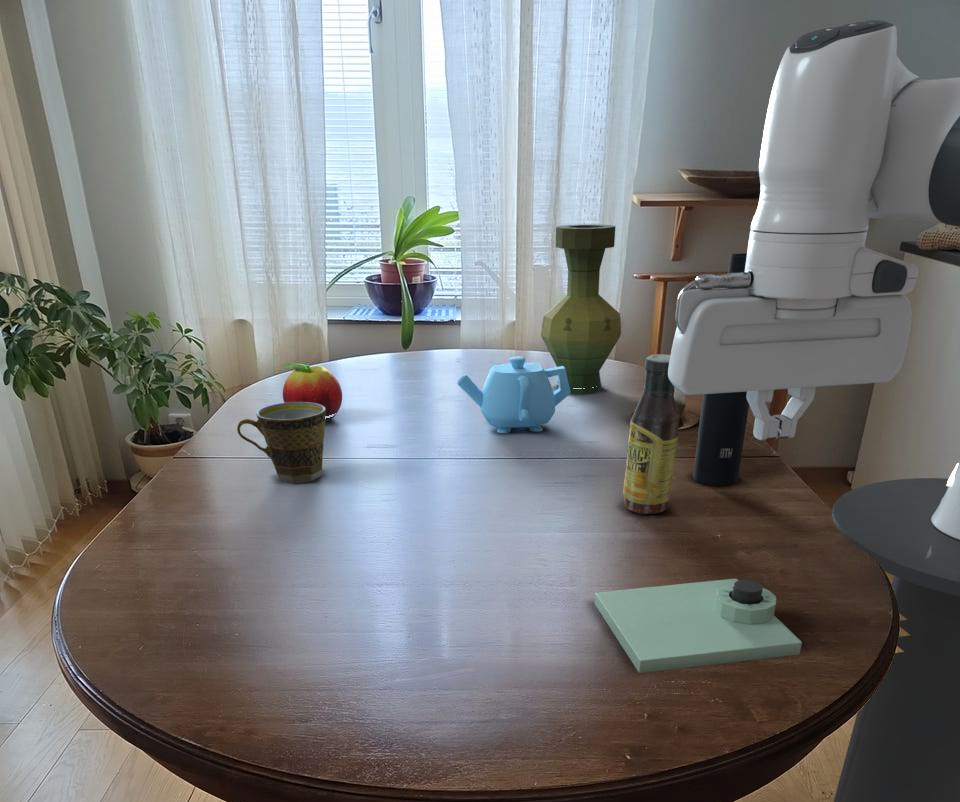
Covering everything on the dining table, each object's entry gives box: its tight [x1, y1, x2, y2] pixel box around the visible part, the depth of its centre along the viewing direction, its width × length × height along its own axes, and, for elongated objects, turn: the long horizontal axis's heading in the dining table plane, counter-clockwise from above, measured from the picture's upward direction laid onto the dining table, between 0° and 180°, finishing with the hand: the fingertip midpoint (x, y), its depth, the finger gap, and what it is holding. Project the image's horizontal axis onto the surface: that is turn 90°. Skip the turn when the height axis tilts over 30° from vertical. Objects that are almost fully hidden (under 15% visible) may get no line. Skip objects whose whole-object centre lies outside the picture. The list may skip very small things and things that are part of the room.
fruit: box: [282, 362, 343, 423], centre depth 149 cm, size 11×11×10 cm
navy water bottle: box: [692, 252, 750, 487], centre depth 112 cm, size 6×6×30 cm
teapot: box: [456, 356, 571, 434], centre depth 143 cm, size 20×17×12 cm
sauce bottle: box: [622, 353, 680, 515], centre depth 105 cm, size 6×6×20 cm
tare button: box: [732, 579, 764, 605], centre depth 81 cm, size 3×3×2 cm
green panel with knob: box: [593, 578, 803, 674], centre depth 81 cm, size 16×14×3 cm
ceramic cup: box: [236, 402, 326, 484], centre depth 121 cm, size 13×10×10 cm
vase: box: [540, 223, 622, 395], centre depth 161 cm, size 16×16×30 cm
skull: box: [629, 387, 699, 430], centre depth 146 cm, size 12×10×10 cm
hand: (773, 437), depth 73 cm, fingers closed
